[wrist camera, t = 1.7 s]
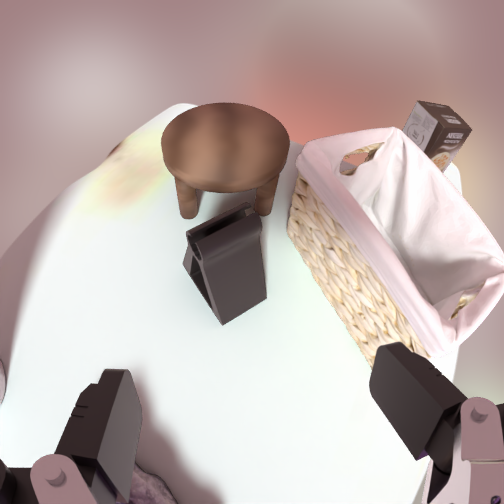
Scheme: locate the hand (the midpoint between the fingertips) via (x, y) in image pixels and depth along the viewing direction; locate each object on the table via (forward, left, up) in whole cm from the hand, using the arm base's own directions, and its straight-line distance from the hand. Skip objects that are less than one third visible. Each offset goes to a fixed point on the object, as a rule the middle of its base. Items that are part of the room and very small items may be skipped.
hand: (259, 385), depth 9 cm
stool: (+1, +29, -23) cm, 37 cm away
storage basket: (+19, +13, -23) cm, 33 cm away
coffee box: (+33, +30, -23) cm, 50 cm away
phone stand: (0, +14, -23) cm, 27 cm away
